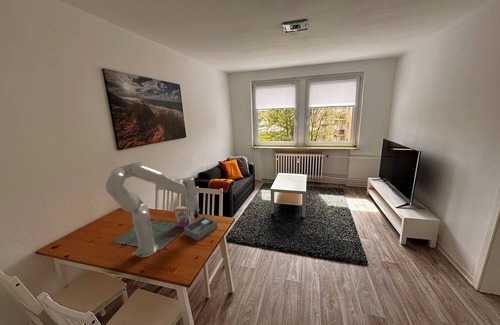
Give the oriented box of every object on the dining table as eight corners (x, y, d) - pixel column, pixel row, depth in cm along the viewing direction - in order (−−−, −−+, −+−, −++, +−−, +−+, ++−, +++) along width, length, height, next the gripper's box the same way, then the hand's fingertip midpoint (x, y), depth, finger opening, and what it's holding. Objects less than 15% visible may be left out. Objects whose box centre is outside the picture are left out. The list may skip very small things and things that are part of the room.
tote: (197, 241, 142) (196, 234, 141) (184, 234, 151) (183, 227, 150) (217, 228, 157) (216, 221, 156) (204, 222, 166) (203, 216, 165)
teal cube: (205, 229, 154) (205, 224, 153) (201, 227, 157) (200, 222, 156) (210, 226, 158) (209, 221, 157) (206, 224, 161) (205, 219, 160)
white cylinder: (193, 220, 144) (192, 211, 142) (189, 218, 147) (188, 209, 145) (199, 217, 147) (197, 208, 146) (194, 215, 150) (193, 206, 149)
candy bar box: (176, 227, 162) (173, 209, 157) (179, 223, 166) (176, 206, 162) (189, 227, 160) (187, 209, 156) (192, 223, 165) (189, 206, 161)
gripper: (179, 193, 144) (182, 215, 149) (193, 198, 134) (197, 222, 139) (187, 190, 150) (191, 211, 155) (202, 194, 140) (205, 217, 145)
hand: (194, 216), depth 147 cm, fingers closed on white cylinder, 4 cm apart
